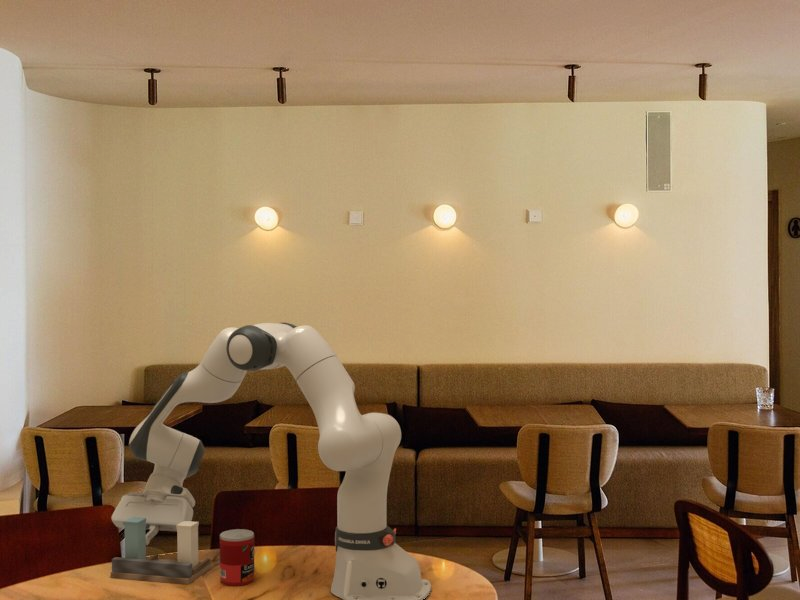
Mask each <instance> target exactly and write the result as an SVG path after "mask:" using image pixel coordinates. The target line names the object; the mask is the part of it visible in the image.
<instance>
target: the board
mask: <svg viewBox="0 0 800 600" xmlns="http://www.w3.org/2000/svg"><path fill="white" fill-rule="evenodd" d="M212 563H213V562H211V558H205V559H204V560H203V561H198V565H197V566H195V567H194V568H192V563H182V562H178V559H171V558H159V554H157V553H154V554H153V555H152V556H150V557H147V556H146V560H145V559H133V558H125V557H118V556H117V557H116V556H115V557H113V558H111V572H110V578H111V579H121V580H131V581H145V582H153V583H164V584H165V583H166V584H176V585H177V584H179V585H189V584H191V583H192V582H194V581H195V580H196V579H198V578H199V577H201V576H202V575H203V574H205V573H207V572H208V571H209V570H210V569H212V568H213V565H212Z"/></svg>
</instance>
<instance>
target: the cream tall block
mask: <svg viewBox="0 0 800 600" xmlns="http://www.w3.org/2000/svg"><path fill="white" fill-rule="evenodd" d="M199 524H200V523H199V521H192V520H191V521H183V522H181V523H179V524H178V525H176V529H177V531H176V532H177V534H176V535H177V536H176V537H177V540H176V541H177V543H176V544H177V560H178V562H182V563H192V568H194V567H195V566H197V565H198V562H199V526H200V525H199Z"/></svg>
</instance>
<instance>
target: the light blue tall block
mask: <svg viewBox="0 0 800 600" xmlns="http://www.w3.org/2000/svg"><path fill="white" fill-rule="evenodd" d="M145 522H146V518H137V517H132V518H130V519H128V520H125V521H124V525H125V528H124V558H133V559H145V560H146V557H147V548H146V547H147V545H146V534H147V533H146V530H147V529H146V525H145Z"/></svg>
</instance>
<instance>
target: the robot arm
mask: <svg viewBox="0 0 800 600" xmlns="http://www.w3.org/2000/svg"><path fill="white" fill-rule="evenodd" d="M282 367H285V368H287V369H288V371H289V372H290V373H291V376H292V377H293V379H294V381H295V382H296V384H297V386H298V387H299V388H300V389H299V390H300V392H302V394H303V396H304V397H305V399H306V401H307V402H308V404H309V407H310V408H311V410H312V412H313V414H314V417H315V420H316V423H317V427H318V432H319V433H318V434H319V440H318V444H317V452H318V456H319V458H320V460H321V462H322V463H323V464H324V465H325V466H326V467H327V468H328V469H330V470H332V471H335V472H345V473H344V474H345V475H344V477H343V479H342V482H341V484H340V486H339V487H338V490H337V496H336V497H337V498H336V500H337V501H336V502H337V503H336V506H337V508H336V509H337V510H336V511H337V512H336V514H337V516H336V517H337V519H336V520H337V526H336V527H335V532H334V546H335V552H336V559H335V567H334V574H333V579H332V581H331V586H330V592H331V594H332V595H334V596H335V597H338V598H340V599H341V600H423V599H425V598H426V597H427V596H428V595H429V596H430V594H431V592H432V584H431V582H430V580H428V579H425V578H422V573H421V568H420V565H419V563H418V560H417V559H416V558H415V557H414V556H412V555H411V554H410V553H408V552H407V551H406V550H404V549H403V548H402V547H401V546H400V545H399V544H397V543H396V534H397V532H396V531H397V528H396V527H395V528H394V529H392V528H391V527H390V526H388V524H387V508H388V507H387V504H388V503H387V499H388V498H387V497H388V496H387V495H388V487H389V482H390V481H389V480H390V476H391V475H390V474H391V471H392V467H393V463H394V457H395V454H396V451H397V449H398V447H399V445H400V443H401V440H402V430H401V426H400V424H399V423H398V421H397V420H396V419H395V418H394V417H393V416H392V415H391V414H387V413H383V412H368V413H365V414H361V412H360V410H359V408H358V405H357V402H356V399H355V390H356V386H355V385H356V384H355V382H354V381H353V379H352V378H351V376H350V374H349V373H348V372H347V369H346V368H345V367H344V365H343V364H342V362H341V360H340V359H339V357H338V355H337V354H336V353H335V351H334V349H333V348H332V347H331V345H330V343H328V341H327V340H326V339H325V338H324V337H323V336H322V335H321V333H320V332H318V330H317V329H316V328H314V327H313V326H312V325H305V324H303V325H299V326H297V325H295V324H292V323H289V322H279V323H277V322H261V323H255V324H250V325H249V324H248V325H243V326H241V327H231V326H230V327H229V326H228V327H226V328H224V329H222V330H221V331H220V332H219V333H218V334H217V335H216V337H214V340H212V343H211V344H210V345H209V347H208V348H207V351H206V352H205V354H204V356H203V358H202V359H201V361H200V363H199V364H198V365H197V366H196V367H195V368H194V369H192V370H190V371H185V372H182V373H180V374H178V376H176V377H175V379H174V380H173V381H172V382H171V384H170V385H169V386H168V388H167V389H166V390H165V391H164V393H163V394H162V395H161V397H160V398H159V399H158V401H156V403H155V405H154V406H153V407H152V409H150V411H149V413H148V414H147V415H146V416H145V417H144V419H143V420H142V421H141V422H140V423H139V424H138V425H137V426H136V427H135V428H134V429H133V431H132V433H131V434H130V437H129V440H128V441H129V442H128V448H129V450H130V453H131V454H132V456H133V458H135V459H138V460H141V461H144V462H149V463H152V464H154V466H153V468H154V469H153V472H152V473H151V474H150V475H149V477H148V479H147V482H146V485H145V487H144V488H143V491H142V492H134V491H130V492H128V493H126V494H125V495H122V496H121V499H120V501H119V503H118V504H117V505H116V508H115V509H114V511H113V513H112V515H111V521H112V523H113V524H114V526H115V527H117V528H122V529H125V525H124V521H125V520H128V519H130V518H132V517H137V518H146V522H145V525H146V530H149V531H148V532H147V533H146V546H148V545H149V544H150V541H151V540H152V539H153V538H154V537H155V536H156V535H158V532H159V531H167V532H177V529H176V525H178V524H179V523H181V522H183V521H192V520H193V517H194V510H193V508H194V507H195V505H196V500H195V498H194V496H193V495H192V493H191V492H190V490H188V488H186V487H184V486H183V484H184V482H185V481H184V480H185V479H187V478H190V477H191V476H193V475H195V474H197V473H198V471H199V468H200V466H201V462H202V459H203V457H204V455H205V453H206V449H205V447H204V444H203V442H202V440H201V439H198V438H197V437H196V436H195V437H194V436H193V435H190V434H187V433H185V432H182V431H180V430H178V429H175V428H172V427H170V426H167V425H165V424H164V422H165V420H166V419H167V418H168V416H169V415H170V414H171V413H172V412H173V410H174V409H175V408H176V407H177V406H178V405H180V404H183V403H196V402H197V403H206V404H214V403H220V402H224V401H226V400H228V399H229V400H230V399H231V398H232V397H233V396H234V395H235V393H236V392H237V390H239V388H240V386H241V384H242V382H243V381H244V379H245V376H246V375H247V372H256V371H262V370H275V369H279V368H282ZM430 591H431V592H430ZM429 593H430V594H429ZM429 596H428V597H429ZM428 597H427V598H428ZM427 598H426V599H427ZM426 599H425V600H426Z"/></svg>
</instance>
